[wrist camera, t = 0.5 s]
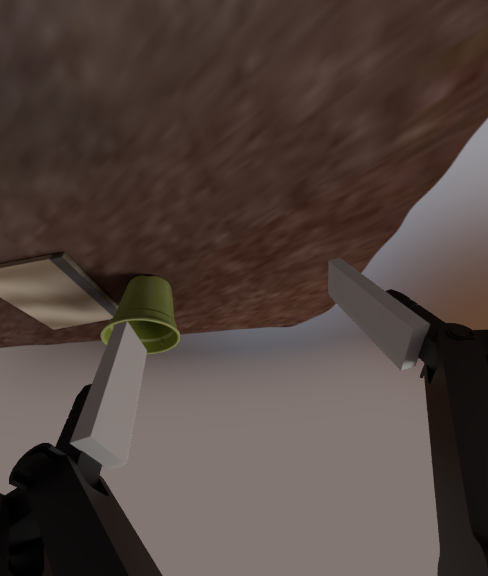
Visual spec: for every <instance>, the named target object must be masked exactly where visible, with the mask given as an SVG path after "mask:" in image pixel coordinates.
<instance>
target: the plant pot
mask: <svg viewBox="0 0 488 576" xmlns="http://www.w3.org/2000/svg"><path fill="white" fill-rule="evenodd" d="M126 321H128V323H129V324H130V326H131V327H132V329H133V330H134V332H135V333H136V335H137V336H138V338H139V339H140V341H141V342H142V344H143V345H144V347H145V348H146V350H147V354H155V353H160V352H164V351H167V350H169V349H171V348H173V347H175V346H176V345H177V344H178V342H179V341H180V333H179V331H178V329H177V326H176V323H175V322H174V313H173V302H172V291H171V286H170V284H169V283H168V282H167V281H166V280H164V279H162V278H160V277H158V276H144V275H140V276H137V277H134V278H133V279H131V280H130V282H129V283H128V285H127V288H126V290H125V292H124V295H123V297H122V299H121V302H120V304H119V306H118V308H117V311H116V313H115V315H114V317H113V318H112V319H111V320H110V322H109V324H107V325H106V326H105V327H104V328H103V330H102V332H101V339H102V341H103V343H104V344H106V345H107V344H108V341H109V338H110V336H111V333H112V331H113V328H114V325H115V324H119V323H122V322H126Z"/></svg>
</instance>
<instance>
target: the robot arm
mask: <svg viewBox="0 0 488 576" xmlns="http://www.w3.org/2000/svg"><path fill="white" fill-rule="evenodd" d="M328 295H329V296H330V297H331V298H332V299H333V300H334V301H335V302H336V303H337V304H338V305H339V306H340V307H341V308H342V309H343V311H344V312H345V313H346V314H347V315H348V316H349V317H350V318H351V319H352V320H353V321H354V322H355V323H356V324H357V325H358V326H359V327H360V328H361V329H362V330H363V331H364V332H365V333H366V335H367V336H368V337H369V338H370V339H371V340H372V341H373V342H374V343H375V344H376V345H377V346H378V347H379V348H380V349H381V350H382V351H383V352H384V353H385V354H386V356H387V357H388V358H389V359H390V360H391V361H392V362H393V363H394V364H395V365H396V366H397V367H398V368H399V369H400V370H404V369H407V368H410V367H413V366H415V365H416V363H417V360H418V357H419V358H420V359H421V360H422V361H423V362H424V363H425V364H424V366H423V369H422V372H421V374H420V378H423V376H424V379H425V390H426V400H427V411H428V421H429V433H430V443H431V455H432V465H433V476H434V488H435V498H436V509H437V520H438V530H439V542H440V557H439V563H438V576H488V330H472V329H470V328H468V327H466V326H464V325H460V324H455V323H445V322H443V321H442V320H440V319H439V318H437V317H436V316H434V315H433V314H432V313H430V312H429V311H427V310H426V309H424V308H423V307H421V306H420V305H418V304H417V303H416V302H414V301H412V300H411V299H410V298H408V297H407V296H405V295H404V294H402V293H400V292H397V291H395V290H387V291H384V290H383V289H381V288H380V287H378V286H377V285H376V284H375V283H373V282H372V281H370V280H369V279H368V278H366V277H365V276H364V275H362V274H361V273H360V272H358V271H357V270H356V269H354V268H353V267H351V266H350V265H349V264H347V263H346V262H345V261H343V260H342V259H341V258H337V259H334V260H330V261H329V278H328ZM146 354H147V350H146V348H145V347H144V345H143V344H142V342H141V341H140V339H139V338H138V336H137V335H136V333H135V332H134V330H133V329H132V327H131V326H130V324H129V323H128V321H126V322H122V323H119V324H115V325H114V328H113V331H112V333H111V336H110V338H109V341H108V344H107V347H106V349H105V352H104V354H103V357H102V359H101V362H100V365H99V367H98V370H97V372H96V375H95V378H94V380H93V383H92V384H90V385H86V386H84V388H83V389H82V390H81V392H80V393H79V394H78V396H77V397H76V399H75V402H74V404H73V407H72V410H71V411H70V414H69V416H68V417H69V418H68V419H67V421H66V423H65V425H64V428H63V430H62V433H61V435H60V437H59V440H58V442H57V445H56V447H54V446H53V445H51V444H49V443H42V444H39V445H37V446H35V447H33V448H32V449H30V450H29V451H28V452H26V454H24V455H23V456H22V457H21V458H20V459H19V461H18V462H17V464H16V465H15V467H14V468H13V470H12V472H11V474H10V477H9V484H11V485H13V486H15V487H17V488H16V489H14V490H13V491H11V492H10V493H8V494H7V495H3V494H1V493H0V576H162V574H161V572H160V571H159V570H158V568H157V566H156V564H155V563H154V561H153V559H152V558H151V556H150V554H149V553H148V551H147V549H146V548H145V546H144V545H143V543H142V541H141V540H140V538H139V536H138V535H137V533H136V531H135V530H134V528H133V527H132V525H131V523H130V522H129V520H128V519H127V517H126V515H125V514H124V512H123V510H122V509H121V507H120V505H119V504H118V502H117V500H116V499H115V497H114V495H113V494H112V492H111V490H110V489H109V487H108V485H107V484H106V482H105V481H104V479H103V478H102V477H101V476H100V471H101V467H102V466H103V467H105V468H107V469H108V470H112V469H115V468H118V467H121V466H124V465H127V460H128V455H129V449H130V444H131V438H132V433H133V427H134V421H135V416H136V410H137V404H138V399H139V392H140V387H141V382H142V376H143V370H144V365H145V359H146Z"/></svg>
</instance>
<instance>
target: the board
mask: <svg viewBox="0 0 488 576" xmlns="http://www.w3.org/2000/svg"><path fill="white" fill-rule="evenodd" d="M0 297H1V298H2V299H4V300H6V301H7V302H9V303H11V304H12V305H14V306H15V307H17V308H19V309H20V310H22V311H24V312H25V313H27V314H29V315H30V316H32V317H34V318H35V319H37V320H39V321H40V322H42V323H44V324H45V325H47V326H49V327H50V328H52V329H60V328H65V327H70V326H76V325H81V324H86V323H92V322H97V321H102V320H108V319H112V318H113V317H114V315H115V313H116V311H117V308H118V305H117V304H116V303H115V302H114V301H113V300H112V299H111V298H110V297H109V296H108V295H107V294H106V293H105V292H104V291H103V290H102V289H101V288H100V287H99V286H98V285H97V284H96V283H95V282H94V281H93V280H92V279H91V278H90V277H89V276H88V275H87V274H86V273H85V272H84V271H83V270H82V269H81V268H80V267H79V266H78V265H77V264H76V263H75V262H74V261H73V260H72V259H71V258H70V257H69V256H68V255H67V254H66V253H65V252H62V253H57V254H52V255H46V256H41V257H36V258H30V259H25V260H20V261H14V262H9V263H4V264H0Z"/></svg>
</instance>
